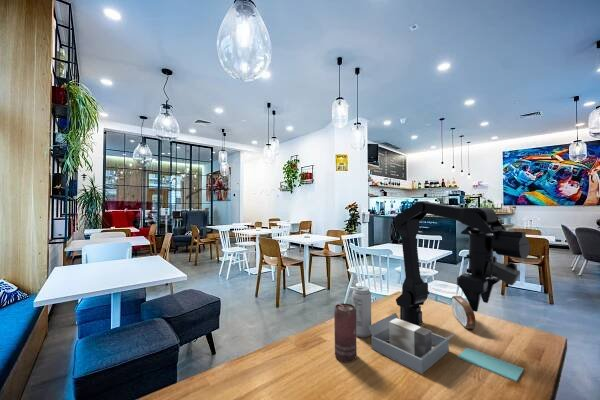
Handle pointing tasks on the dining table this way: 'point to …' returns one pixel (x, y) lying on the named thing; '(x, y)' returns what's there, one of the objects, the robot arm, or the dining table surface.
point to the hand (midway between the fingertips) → (480, 306)
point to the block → (410, 337)
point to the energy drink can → (362, 310)
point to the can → (345, 332)
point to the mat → (491, 364)
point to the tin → (463, 312)
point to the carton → (418, 364)
